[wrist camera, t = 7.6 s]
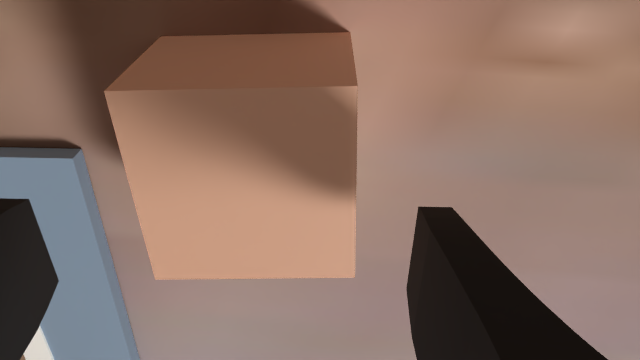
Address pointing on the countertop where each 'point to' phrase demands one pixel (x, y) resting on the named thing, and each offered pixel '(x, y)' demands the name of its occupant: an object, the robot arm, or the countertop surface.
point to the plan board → (70, 257)
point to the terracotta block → (242, 154)
